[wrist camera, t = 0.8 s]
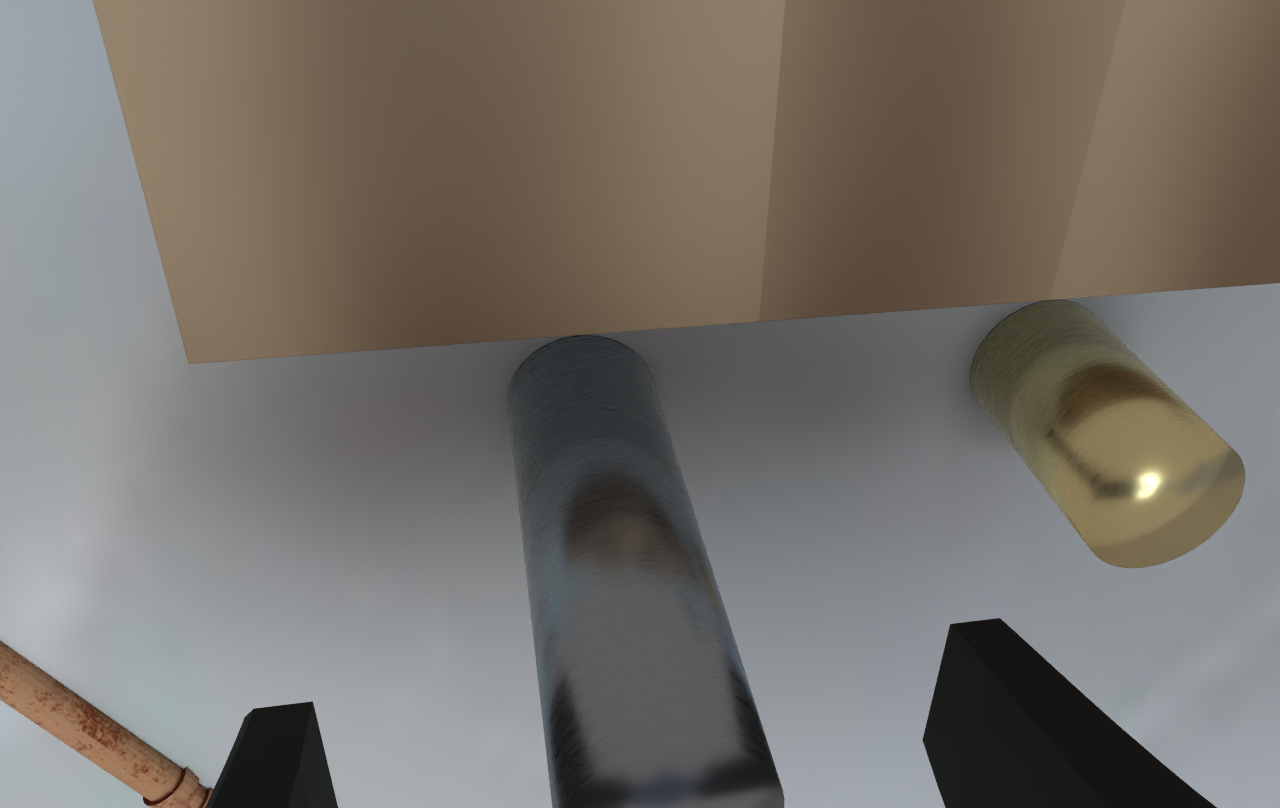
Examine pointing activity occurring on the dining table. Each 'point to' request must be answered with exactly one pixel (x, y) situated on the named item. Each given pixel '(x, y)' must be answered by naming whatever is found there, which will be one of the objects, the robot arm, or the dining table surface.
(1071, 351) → the short pin
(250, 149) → the hole block
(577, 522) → the long pin
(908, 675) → the dining table surface
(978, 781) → the robot arm
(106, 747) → the key
